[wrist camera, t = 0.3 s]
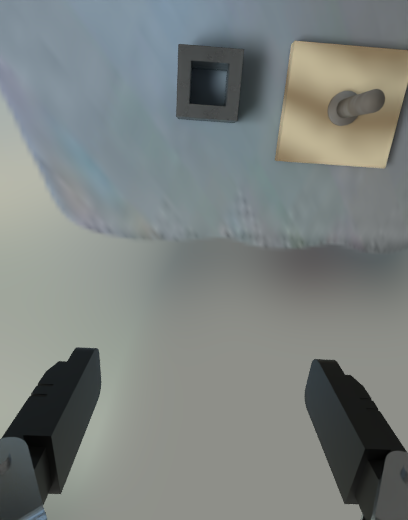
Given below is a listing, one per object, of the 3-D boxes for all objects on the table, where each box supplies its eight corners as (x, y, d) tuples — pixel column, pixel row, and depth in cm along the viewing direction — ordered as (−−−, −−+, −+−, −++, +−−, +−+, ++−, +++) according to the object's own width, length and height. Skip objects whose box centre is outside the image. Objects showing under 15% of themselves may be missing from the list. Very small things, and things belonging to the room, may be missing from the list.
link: (180, 53, 30) (178, 43, 28) (239, 58, 31) (244, 49, 28) (178, 118, 33) (176, 116, 30) (233, 123, 33) (237, 120, 30)
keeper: (291, 44, 30) (317, 15, 24) (408, 54, 31) (467, 28, 24) (274, 160, 34) (293, 163, 27) (379, 167, 35) (422, 173, 28)
